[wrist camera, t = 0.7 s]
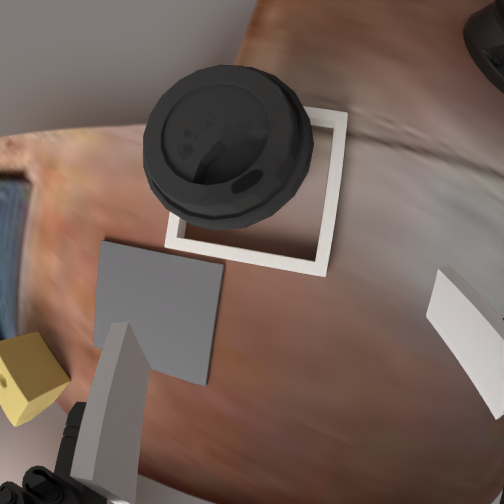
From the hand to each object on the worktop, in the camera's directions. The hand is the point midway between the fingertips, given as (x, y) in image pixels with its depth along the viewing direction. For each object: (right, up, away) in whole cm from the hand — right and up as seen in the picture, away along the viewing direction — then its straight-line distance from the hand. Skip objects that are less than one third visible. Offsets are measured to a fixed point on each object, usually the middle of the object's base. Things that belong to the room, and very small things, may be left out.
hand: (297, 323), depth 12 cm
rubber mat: (-13, -4, +22) cm, 26 cm away
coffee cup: (-1, +10, +19) cm, 22 cm away
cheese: (-35, -16, +27) cm, 47 cm away
